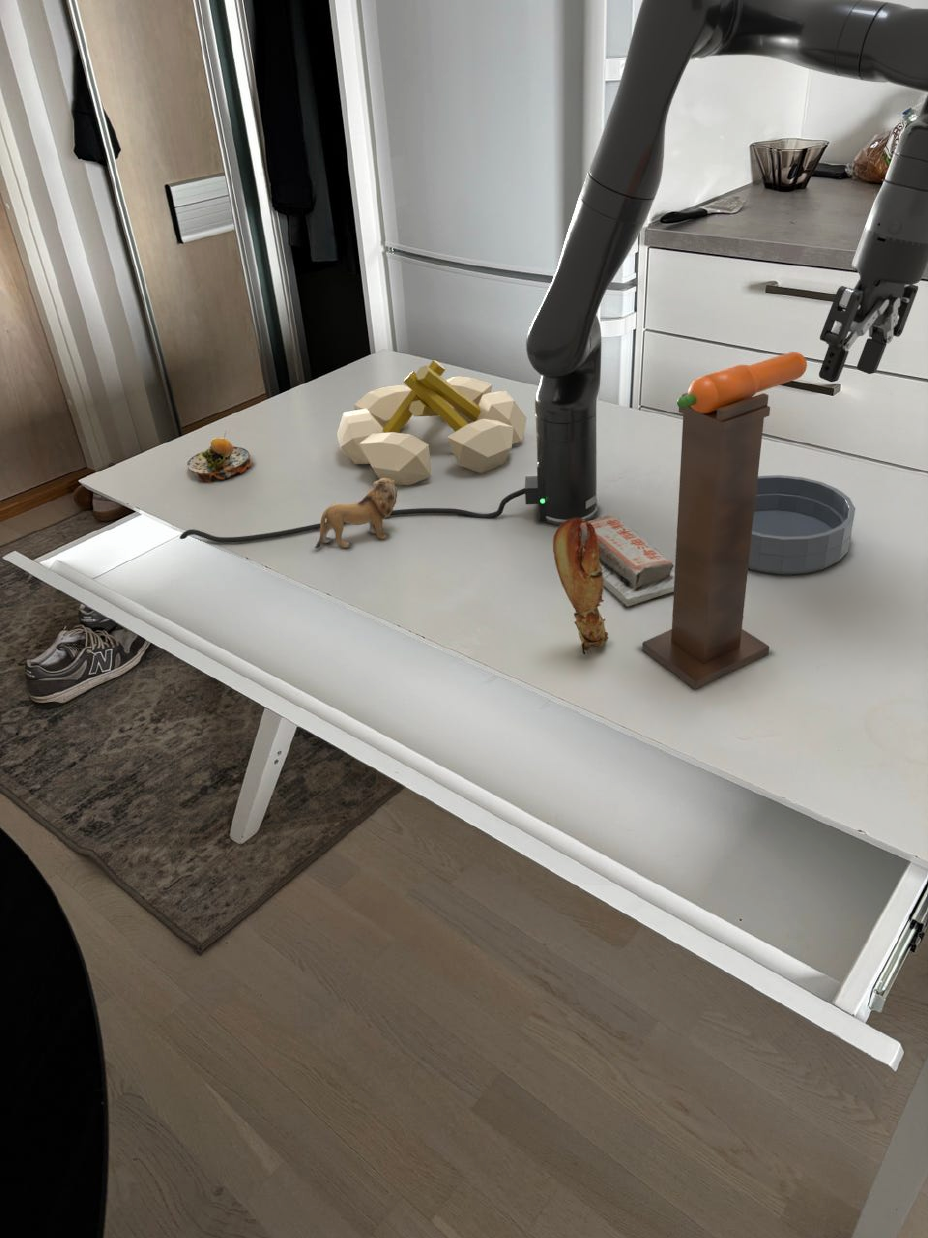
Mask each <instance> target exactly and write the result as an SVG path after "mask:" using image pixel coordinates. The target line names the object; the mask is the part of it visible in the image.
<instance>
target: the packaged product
mask: <svg viewBox="0 0 928 1238" xmlns="http://www.w3.org/2000/svg"><path fill="white" fill-rule="evenodd" d="M588 522H589V523H591V524H592V526H593V527H594V529H595V532H596V535H597V540H598V549H599V563H600V566H601V567H602V573H603V587H604V588H606V589H607V590H608V591H609V592H610V593H611V594H613V595H614V596H615V597H616V598H617V599H618V600H619V601H620V602H621V603H622V604H624V606H626V607H627V608H629V607H631V606H635V605H638V604H639V603H643V602H646V601H648V600H651V599H655V598H658V597H660V596H664V595H667V594H670V593H674V578H675V569H673V568H675V564H674V563H673V562H672V561H671V560H670V559H668V558H667V557H666V556H665V555H664V554H662V552H660V551H659V550H657V549H656V548H655V547H654V546H652V545H651V544H650V543H649V542H647V541H646V540H645V538H643V537H642V536H641V535H639V534H638V533H636V532H635V530H633V529H632V528H631V527H630V526H628V525H627V524H626V523H625V522H624V521H622V520H621V519H620V518H618V517H616V516H613V515H611V516H610V515H604V516H603V517H602V516H601V517H599V518H595V519H591V520H589V521H588ZM580 528H581V529H582V535H581V541H582V542H583V543H584V547H583V548H584V549H586V543H585V540H586V538H587V526H586V524H585V523H581V526H580Z"/></svg>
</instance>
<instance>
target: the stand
mask: <svg viewBox="0 0 928 1238" xmlns="http://www.w3.org/2000/svg"><path fill="white" fill-rule="evenodd" d="M685 395H687V392H685V393H682V395H681V397H682V396H685ZM768 405H769V394H767V393H760V394H756V395H754V396H753V397H751V398H748V399H745V400H742V401H739V402H736V403H733V404H730V405H727V406H724V407H722V408H719V409H717V410H716V411H713V412H710V413H700V412H697V411H695V410H694V409H693V408H691V406H689V407H686V408H680V407H678V413H680V414H682V430H681V431H682V433H681V448H680V449H681V450H680V466H679V468H680V469H679V486H678V503H677V505H678V506H677V524H676V545H675V546H676V547H675V562H674V571H675V578H674V591H673V597H672V598H673V599H672V617H671V629H669V630H667V631H664V632H663V633H660V634H658V635H656V636H654V637H651V638H649V639H647V640H645V641H642V642H641V649H642V651H643V652H644V653H645V654H647V655H648V656H650V657H651V658H652V659H654V660H655V661H656V662H657V663H659V664H661V665H662V666H663V667H664V668H665V669H667V670H668V671H670V672H671V673H673V674H674V675H675V676H676V677H678V678H679V679H681V680H682V681H683V682H685V684H687V685H689V686H690V687H691V688H692V689H694V690H697V689H700V688H701V687H704V686H706V685H707V684H709V683H711V682H713V681H716V680H717V679H718V680H719V678H722V677H724V676H726V675H729V674H730V673H732V672H734V671H736V670H739V669H740V668H742V667H745V666H746V665H748V664H751V663H753V662H755V661H756V660H759V659H761V658H763V657H765V656H767V655H769V652H770V645H769V644H767V643H765V642H764V641H761V640H760V639H758V638H757V637H756V636H754V635H752V634H751V633H750V632H748V631H747V630H745V629H743V620H744V612H745V611H744V610H745V602H746V595H747V594H746V593H747V584H748V583H747V582H748V574H749V569H748V565H749V556H750V546H751V537H752V527H753V518H754V508H755V499H756V489H757V480H758V476H759V469H760V461H761V460H760V459H761V450H762V440H763V431H764V422H765V418H766V417H769V416H770V414H771V406H770V405H769V406H768Z"/></svg>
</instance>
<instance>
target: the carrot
mask: <svg viewBox="0 0 928 1238" xmlns="http://www.w3.org/2000/svg"><path fill="white" fill-rule="evenodd" d="M807 368H808V362H807V359H806V357H805V355H803V354H802V353H801V352H797V351H790V352H787V353H783V354H781V355H777V356H774V357H771V358H768V359H765V360H762V361H758V362H756V363H753V364H750V365H748V364H737V365H734V366H731V367H728V368H724V369H721V370H718V371H715V372H713V373H709V374H706V375H703V376H700V377H697V378H695V380H693V381H692V382H691V383H690V385H689V386H688V389H687V391H686V393H687V395H685V396H682V395H681V396H680V397H678V398H677V400H676V405H677V407H678V408H679V407H680V408H686V407H689V406H691V408H693V409H694V410H695V411H697V412H700V413H710V412H713V411H716V410H717V409H719V408H722V407H724V406H727V405H730V404H733V403H736V402H739V401H742V400H745V399H748V398H751V397H754V396H756V395H757V393H760V392H763V391H766V390H769V389H772V388H774V387H777V386H780V385H784V384H786V383H789V382H793V381H795V380H798V379H800V378H801V377H802V376H803V375H804V374H805V373H806V371H807Z"/></svg>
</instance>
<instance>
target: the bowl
mask: <svg viewBox="0 0 928 1238" xmlns="http://www.w3.org/2000/svg"><path fill="white" fill-rule="evenodd" d="M855 514H856V507H855V505H854V504H853V501H852V499H851V498H850V497H849V496H848V495H846V494H845V493H844V492H842V491H841V490H840V489H839V488H837V487H834V486H833V485H829V484H827V483H825V482H823V481H819V480H815V479H811V478H807V477H803V476H794V475H793V476H792V475H783V474H774V475H773V474H772V475H758V480H757V489H756V499H755V508H754V518H753V527H752V537H751V546H750V556H749V565H748V570H751V571H755V572H758V573H759V572H760V573H765V574H771V575H802V574H809V573H814V572H818V571H821V570H824V569H826V568H828V567H829V568H830V567H831V566H832V565H834V564H836V563H838V562H839V561H841V559H843V557H844V556H845V555H846V554H847V553H848V552H849V548H850V543H851V537H852V532H853V526H854V519H855Z"/></svg>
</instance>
